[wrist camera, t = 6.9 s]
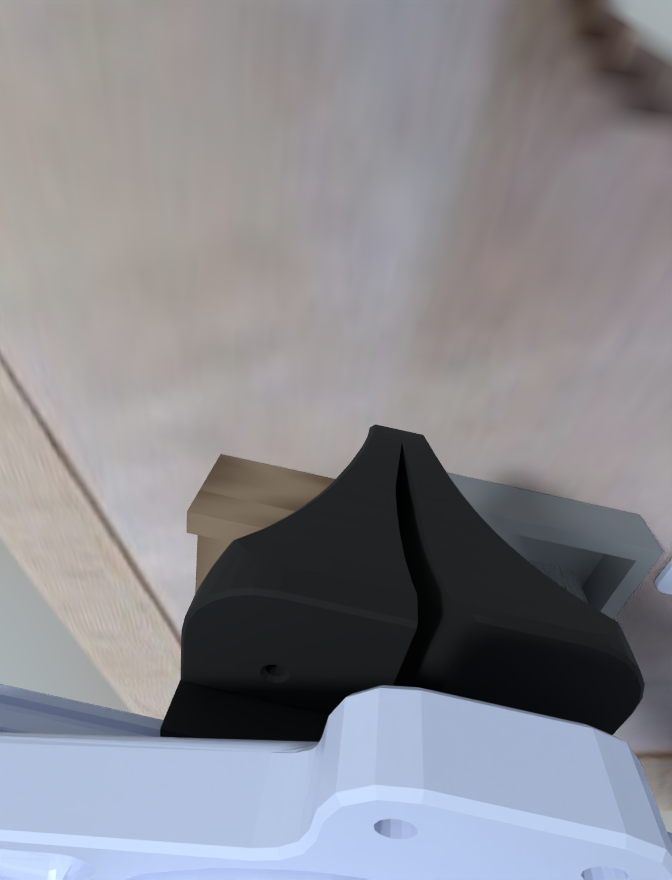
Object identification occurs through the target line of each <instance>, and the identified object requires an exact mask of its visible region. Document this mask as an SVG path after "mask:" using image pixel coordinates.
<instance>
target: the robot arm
mask: <svg viewBox="0 0 672 880" xmlns="http://www.w3.org/2000/svg"><path fill="white" fill-rule="evenodd" d="M654 584H655V586H656V588H657V590H658V591H659V592H662V593H665V594H670V595H672V559H671V560H670V562H669V563H668V564H667V565H666V567H665V568H664V569H663V571H662V572H661V573H660V575H659V576H658V577H657V578H656V580H655V582H654ZM644 685H645V684H644V681H643V678H642V675H641V672H640V669H639V667H638V664H637V662H636V660H635V658H634V655H633V653H632V651H631V648H630V646H629V644H628V642H627V640H626V638H625V636H624V633H623V631H622V629H621V628H620V626H619V624H618V622H616V621H615V620H613V619H612V618H610V617H608V616H607V615H605V614H604V613H602V612H600V611H599V610H597V609H596V608H594V607H592V606H591V605H589V604H588V603H586V602H584V601H583V600H581V599H579V598H578V597H576V596H575V595H573V594H572V593H570V592H569V591H567V590H566V589H564V588H563V587H562V586H560V585H559V584H557V583H556V582H555V581H553V580H552V579H551V578H549V577H548V576H546V575H545V574H544V573H542V572H541V571H540V570H539V569H537V568H536V567H535V566H533V565H532V564H531V563H530V562H528V561H527V560H526V559H525V558H524V557H523V556H521V555H520V554H519V553H518V552H517V551H516V550H514V549H513V548H512V547H511V546H510V545H509V544H508V543H507V542H505V541H504V540H503V539H502V538H501V537H500V536H499V535H498V534H497V533H496V532H495V531H494V530H493V529H492V528H491V527H490V526H489V525H488V524H487V523H486V522H485V520H484V519H483V518H482V517H481V516H480V515H479V514H478V513H477V512H476V511H475V509H474V508H473V507H472V506H471V505H470V503H469V502H468V501H467V500H466V498H465V497H464V496H463V495H462V493H461V492H460V491H459V489H458V488H457V487H456V485H455V484H454V483H453V481H452V480H451V478H450V477H449V475H448V474H447V472H446V471H445V469H444V468H443V466H442V465H441V463H440V462H439V460H438V458H437V457H436V455H435V454H434V452H433V450H432V449H431V447H430V445H429V444H428V442H427V440H426V439H425V437H424V436H423V435H421V434H416V433H412V432H407V431H402V430H398V429H393V428H389V427H384V426H380V425H374V426H372V427H370V429H369V433H368V437H367V439H366V441H365V443H364V444H363V446H362V448H361V449H360V451H359V452H358V453H357V455H356V456H355V457H354V459H353V460H352V462H351V463H350V464H349V465H348V466H347V467H346V468H345V470H344V471H343V472H342V473H341V474H340V475H339V476H338V477H337V478H336V479H335V480H334V481H333V482H332V483H331V484H330V485H329V486H328V487H327V488H326V489H325V490H324V491H322V492H321V493H320V494H319V495H318V496H316V497H315V498H314V499H312V500H311V501H310V502H308V503H307V504H306V505H304V506H303V507H301V508H300V509H298V510H297V511H295V512H294V513H292V514H290V515H288V516H287V517H285V518H283V519H281V520H279V521H278V522H276V523H274V524H272V525H270V526H268V527H266V528H264V529H261V530H259V531H256V532H254V533H251V534H249V535H246V536H244V537H241V538H238V539H235V540H233V541H232V542H231V543H230V545H229V546H228V547H227V548H226V549H225V551H224V552H223V553H222V554H221V556H220V557H219V558H218V560H217V561H216V562H215V564H214V565H213V566H212V568H211V569H210V571H209V572H208V574H207V575H206V577H205V578H204V580H203V582H202V583H201V585H200V587H199V588H198V590H197V592H196V594H195V596H194V598H193V601H192V603H191V605H190V607H189V609H188V611H187V614H186V616H185V619H184V623H183V627H182V638H181V680H180V682H179V685H178V687H177V689H176V692H175V694H174V697H173V699H172V701H171V704H170V706H169V709H168V711H167V714H166V716H165V718H164V720H161V719H156V718H152V717H147V716H143V715H138V714H134V713H129V712H125V711H120V710H115V709H111V708H107V707H102V706H98V705H93V704H88V703H84V702H79V701H75V700H70V699H66V698H62V697H57V696H53V695H47V694H44V693H39V692H35V691H30V690H25V689H21V688H16V687H11V686H7V685H3V684H0V880H672V833H670V832H667V831H666V828H665V826H664V823H663V820H662V818H661V815H660V812H659V810H658V807H657V805H656V802H655V799H654V797H653V794H652V791H651V789H650V786H649V784H648V781H647V778H646V776H645V773H644V770H643V768H642V765H641V763H640V761H639V760H638V758H637V757H636V755H635V754H634V752H633V751H632V749H631V748H630V747H629V745H628V744H627V742H625V741H623V740H621V739H619V738H617V737H615V736H613V734H614V733H615V732H616V730H617V729H618V728H619V727H620V726H621V725H622V724H623V723H624V722H625V721H626V720H627V719H628V717H629V716H630V715H631V714H632V713H633V712H634V710H635V709H636V707H637V706H638V704H639V703H640V701H641V699H642V697H643V691H644Z"/></svg>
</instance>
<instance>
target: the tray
mask: <svg viewBox="0 0 672 880" xmlns="http://www.w3.org/2000/svg"><path fill="white" fill-rule="evenodd" d="M447 474H448V475H449V477H450V478H451V480H452V481H453V483H454V484H455V485H456V487H457V488H458V489H459V491H460V492H461V493H462V495H463V496H464V497H465V498H466V500H467V501H468V502H469V503H470V505H471V506H472V507H473V508H474V509H475V511H476V512H477V513H478V514H479V515H480V516H481V517H482V518H483V519H484V520H485V522H486V523H487V524H488V525H489V526H490V527H491V528H492V529H493V530H494V531H495V532H496V533H497V534H498V535H499V536H500V537H501V538H502V539H503V540H504V541H505V542H507V543H508V544H509V545H510V546H511V547H512V548H513V549H514V550H516V551H517V552H518V553H519V554H520V555H521V556H523V557H524V558H525V559H526V560H529V561H534V562H538V563H543V564H547V565H552V566H557V567H561V568H566V569H571V570H575V572H576V575H577V577H578V580H579V582H580V585H581V587H582V590H583V592H584V595H585V597H586V600H587V602H588V604H589V605H591V606H592V607H594V608H596V609H597V610H599V611H600V612H602V613H604V614H605V615H607V616H608V617H610V618H612V619H614V618H615V616H616V615H617V614H618V612H619V611H620V610H621V608H622V607H623V606H624V604H625V603H626V602H627V600H628V599H629V598H630V596H631V595H632V594H633V592H634V591H635V590H636V588H637V587H638V585H639V584H640V583H641V581H642V580H643V579H644V577H645V576H646V575H647V573H648V572H649V571H650V569H651V568H652V567H653V565H654V564H655V563H656V561H657V560H658V559H659V557H660V556H661V555H662V553H663V550H662V549H661V547H660V545H659V544H658V542H657V541H656V539H655V537H654V536H653V534H652V533H651V531H650V530H649V528H648V526H647V525H646V523H645V522H644V520H643V519H642V517H641V515H638V514H634V513H629V512H625V511H620V510H615V509H611V508H606V507H602V506H597V505H592V504H588V503H583V502H579V501H574V500H570V499H565V498H560V497H556V496H551V495H547V494H542V493H538V492H533V491H528V490H524V489H519V488H515V487H510V486H505V485H501V484H496V483H492V482H487V481H483V480H478V479H473V478H469V477H464V476H460V475H455V474H451V473H447Z"/></svg>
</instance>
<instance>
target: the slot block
mask: <svg viewBox="0 0 672 880" xmlns="http://www.w3.org/2000/svg"><path fill="white" fill-rule="evenodd" d="M334 480H335V479H332V478H327V477H323V476H318V475H313V474H309V473H304V472H300V471H295V470H291V469H286V468H281V467H277V466H272V465H268V464H263V463H259V462H254V461H249V460H245V459H240V458H236V457H231V456H226V455H222V454H221V455H220V456H219V458H218V460H217V462H216V463H215V465H214V467H213V468H212V470H211V472H210V473H209V475H208V477H207V479H206V480H205V482H204V484H203V485H202V487H201V489H200V491H199V492H198V494H197V496H196V497H195V499H194V501H193V502H192V504H191V506H190V508H189V509H188V511H187V533H192V534H196V535H198V542H197V567H196V591H195V594H196V592H197V590H198V588H199V587H200V585H201V583H202V582H203V580H204V578H205V577H206V575H207V574H208V572H209V571H210V569H211V568H212V566H213V565H214V564H215V562H216V561H217V560H218V558H219V557H220V556H221V554H222V553H223V552H224V551H225V549H226V548H227V547H228V546H229V545H230V543H231V542H232V541H233V540H235V539H238V538H241V537H244V536H246V535H249V534H251V533H254V532H256V531H259V530H261V529H264V528H266V527H268V526H270V525H272V524H274V523H276V522H278V521H279V520H281V519H283V518H285V517H287V516H288V515H290V514H292V513H294V512H295V511H297V510H298V509H300V508H301V507H303V506H304V505H306V504H307V503H308V502H310V501H311V500H312V499H314V498H315V497H316V496H318V495H319V494H320V493H321V492H322V491H324V490H325V489H326V488H327V487H328V486H329V485H330V484H331V483H332V482H333V481H334Z"/></svg>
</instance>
